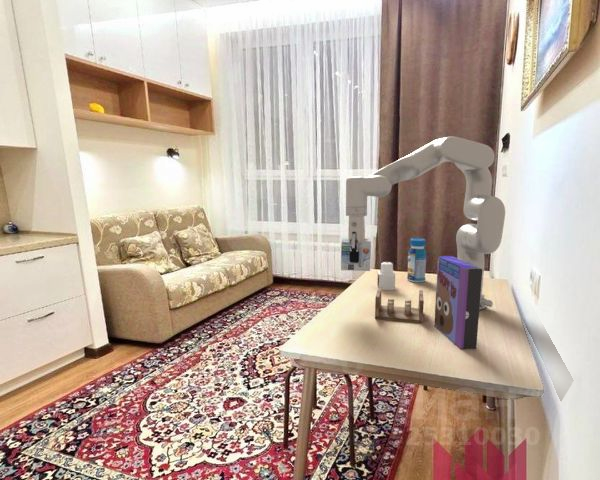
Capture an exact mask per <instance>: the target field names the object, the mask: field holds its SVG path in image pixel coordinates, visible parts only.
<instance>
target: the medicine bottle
mask: <svg viewBox="0 0 600 480" xmlns="http://www.w3.org/2000/svg"><path fill="white" fill-rule="evenodd" d="M394 266H395V265H394V262H393V261H389V260H383V261H380V262H379V270H378V271H377V288H378V287H381V288H382V290H381V291H396V273H395V270H394V268H395V267H394Z"/></svg>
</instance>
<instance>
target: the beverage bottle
mask: <svg viewBox="0 0 600 480" xmlns="http://www.w3.org/2000/svg"><path fill="white" fill-rule="evenodd" d="M409 246H410V248H409V250H408V252H407V253H408V254H407V255H408V256H407V277H406V279H407V280H408V281H409V282H412V283H423V282H425V281H426V267H427V266H426V265H427V257H426V255H427V251H426V249H425V246H426V239H425V238H421V237H419V238H418V237H415V238H414V237H412V238H410V245H409Z"/></svg>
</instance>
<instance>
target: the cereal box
mask: <svg viewBox="0 0 600 480" xmlns="http://www.w3.org/2000/svg"><path fill="white" fill-rule="evenodd" d="M481 282H482V269H481V268H478V267H476V266H474V265H471V264H469V263H467V262H464V261H462V260H460V259H457V257H455V256H452V255H441V256H437V269H436V287H435V302H434V303H435V305H434V321H433V322H434V325H433V326H434V328H435V329H437V330H438V331H439V332H440V333H441V334H442V335H443V336H445V337H446V338H447V339H448V340H449V341H450V342H451V343H453V344H454V345H455V346H456V347H457V348H458V349H459V350H473V349H474V350H477V343H478V331H479V330H478V329H479V318H480V310H479V307H480V294H481Z"/></svg>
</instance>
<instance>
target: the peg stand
mask: <svg viewBox="0 0 600 480" xmlns="http://www.w3.org/2000/svg"><path fill="white" fill-rule="evenodd" d="M382 291H383V290H382V288H381V287H378V286H377V290H376V294H375V303H374V305H375V306H374V308H375V309H374V319H375V320H381V321H382V320H383V321H393V322H395V321H396V322H404V323H415V324H423V322H424V321H423V320H424V304H425V303H424V302H425V301H424V300H425V299H424V292H423V291H424V290H419V291H418V307H417V308H416V307H412V300H410V299H406V300H404V306H395V299H394V298H387V304H386V305H385V304H384V305H383V304H382Z"/></svg>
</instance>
